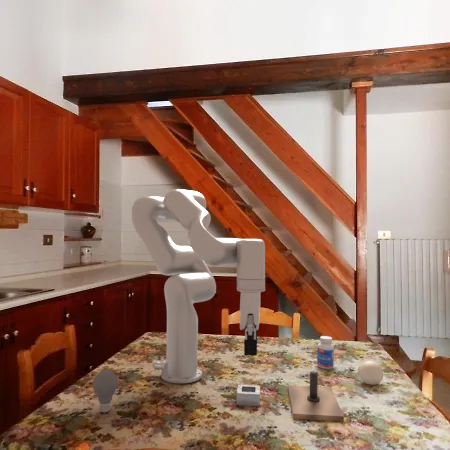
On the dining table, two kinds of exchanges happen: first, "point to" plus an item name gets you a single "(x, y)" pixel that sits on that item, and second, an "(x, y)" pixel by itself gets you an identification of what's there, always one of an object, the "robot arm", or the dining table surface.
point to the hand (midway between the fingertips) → (251, 349)
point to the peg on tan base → (314, 402)
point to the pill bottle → (325, 353)
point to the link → (248, 395)
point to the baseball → (370, 372)
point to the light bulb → (105, 388)
